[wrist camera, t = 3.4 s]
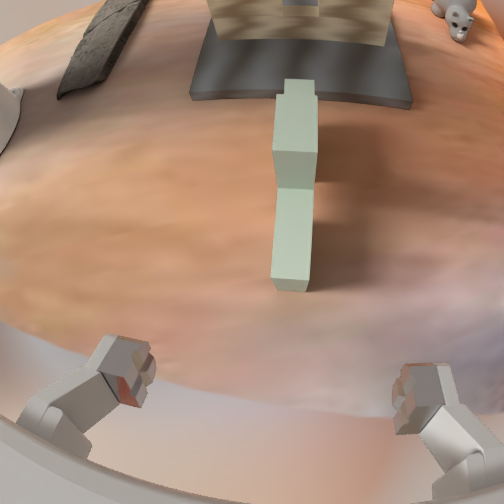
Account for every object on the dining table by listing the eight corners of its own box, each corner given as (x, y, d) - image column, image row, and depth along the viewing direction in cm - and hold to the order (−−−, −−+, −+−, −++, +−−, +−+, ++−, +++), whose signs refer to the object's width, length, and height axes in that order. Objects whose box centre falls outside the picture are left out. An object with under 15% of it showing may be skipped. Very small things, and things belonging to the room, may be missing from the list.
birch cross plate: (192, 100, 33) (166, 45, 24) (219, 6, 37) (207, -40, 29) (409, 109, 30) (432, 53, 21) (382, 10, 34) (390, -37, 25)
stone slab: (45, 96, 36) (110, -17, 41) (57, 106, 39) (116, -6, 44) (99, 82, 34) (157, -29, 40) (109, 95, 38) (162, -18, 43)
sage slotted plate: (305, 292, 27) (313, 266, 15) (277, 290, 27) (262, 262, 15) (312, 129, 30) (315, 35, 18) (288, 128, 31) (280, 34, 19)
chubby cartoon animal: (428, 44, 35) (444, 18, 26) (423, -11, 32) (435, -40, 24) (469, 57, 33) (491, 35, 25) (462, 1, 31) (478, -24, 23)
